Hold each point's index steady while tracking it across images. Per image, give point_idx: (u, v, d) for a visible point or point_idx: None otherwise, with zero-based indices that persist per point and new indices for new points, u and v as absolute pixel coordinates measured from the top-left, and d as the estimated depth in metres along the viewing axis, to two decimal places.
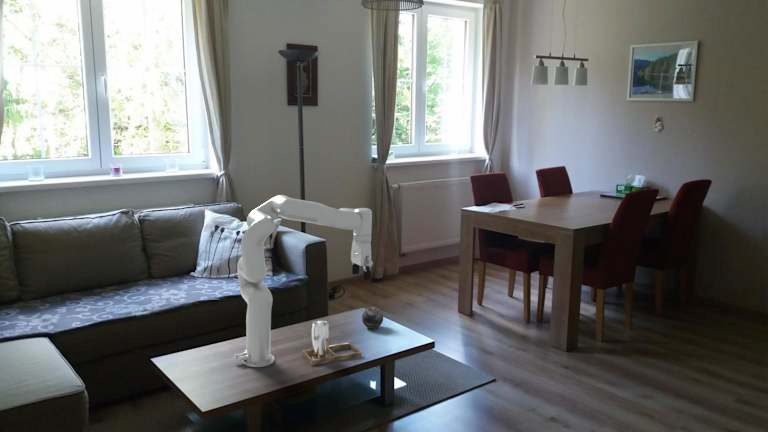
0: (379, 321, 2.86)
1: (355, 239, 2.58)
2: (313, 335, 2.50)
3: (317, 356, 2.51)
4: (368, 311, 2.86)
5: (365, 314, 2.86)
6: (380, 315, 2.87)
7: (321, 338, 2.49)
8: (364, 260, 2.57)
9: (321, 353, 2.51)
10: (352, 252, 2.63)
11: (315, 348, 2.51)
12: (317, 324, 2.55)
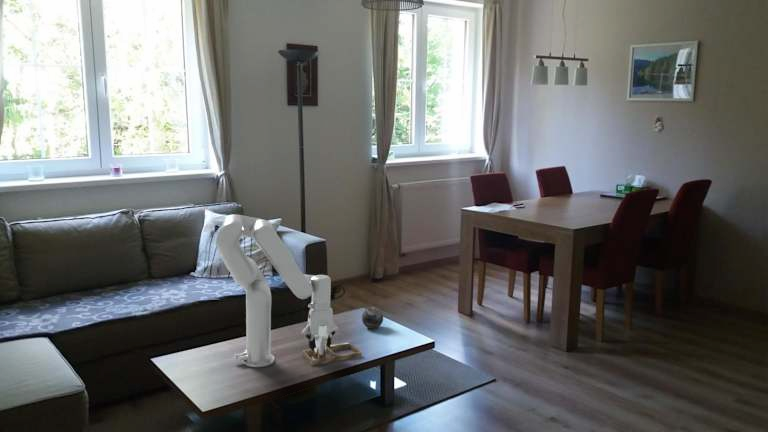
0: (379, 321, 2.86)
1: (325, 309, 2.48)
2: None
3: (317, 356, 2.51)
4: (368, 311, 2.86)
5: (365, 314, 2.86)
6: (380, 315, 2.87)
7: (321, 338, 2.49)
8: None
9: (321, 353, 2.51)
10: (315, 325, 2.48)
11: (315, 348, 2.51)
12: None
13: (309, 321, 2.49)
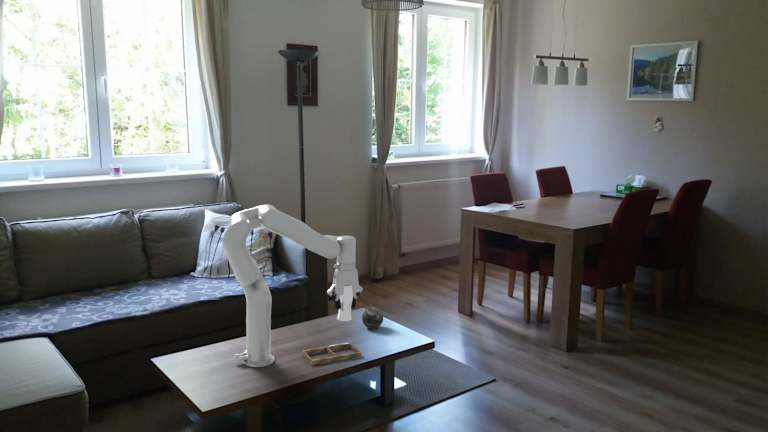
0: (379, 321, 2.86)
1: (351, 269, 2.50)
2: None
3: (342, 316, 2.54)
4: (368, 311, 2.86)
5: (365, 314, 2.86)
6: (380, 315, 2.87)
7: (346, 298, 2.51)
8: None
9: (346, 313, 2.53)
10: (340, 285, 2.50)
11: (340, 308, 2.53)
12: None
13: (334, 281, 2.51)
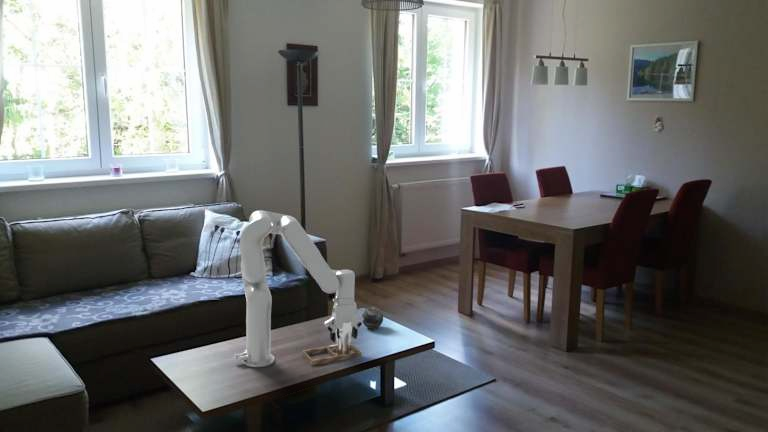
0: (379, 321, 2.86)
1: (350, 303, 2.52)
2: (337, 331, 2.55)
3: (341, 352, 2.56)
4: (368, 311, 2.86)
5: (365, 314, 2.86)
6: (380, 315, 2.87)
7: (345, 334, 2.54)
8: None
9: (345, 349, 2.56)
10: (339, 318, 2.52)
11: (339, 344, 2.56)
12: None
13: (333, 315, 2.53)
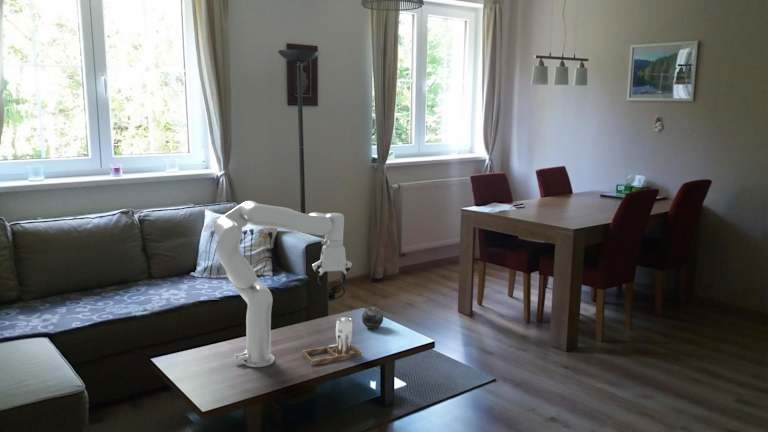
0: (379, 321, 2.86)
1: (338, 245, 2.53)
2: (337, 331, 2.55)
3: (341, 352, 2.56)
4: (368, 311, 2.86)
5: (365, 314, 2.86)
6: (380, 315, 2.87)
7: (345, 334, 2.54)
8: None
9: (345, 349, 2.56)
10: (327, 261, 2.53)
11: (339, 344, 2.56)
12: (341, 321, 2.59)
13: (321, 257, 2.54)
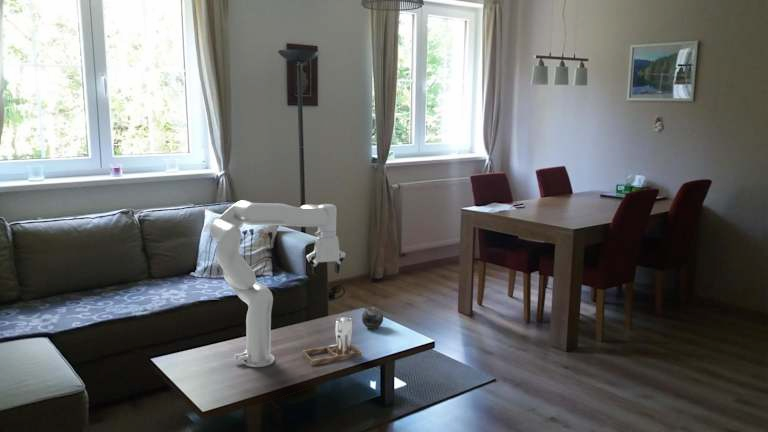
0: (379, 321, 2.86)
1: (331, 236, 2.55)
2: (337, 332, 2.55)
3: (341, 352, 2.56)
4: (368, 311, 2.86)
5: (365, 314, 2.86)
6: (380, 315, 2.87)
7: (345, 334, 2.54)
8: None
9: (345, 349, 2.56)
10: (321, 252, 2.55)
11: (339, 344, 2.56)
12: (340, 321, 2.59)
13: (315, 248, 2.56)
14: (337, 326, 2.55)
